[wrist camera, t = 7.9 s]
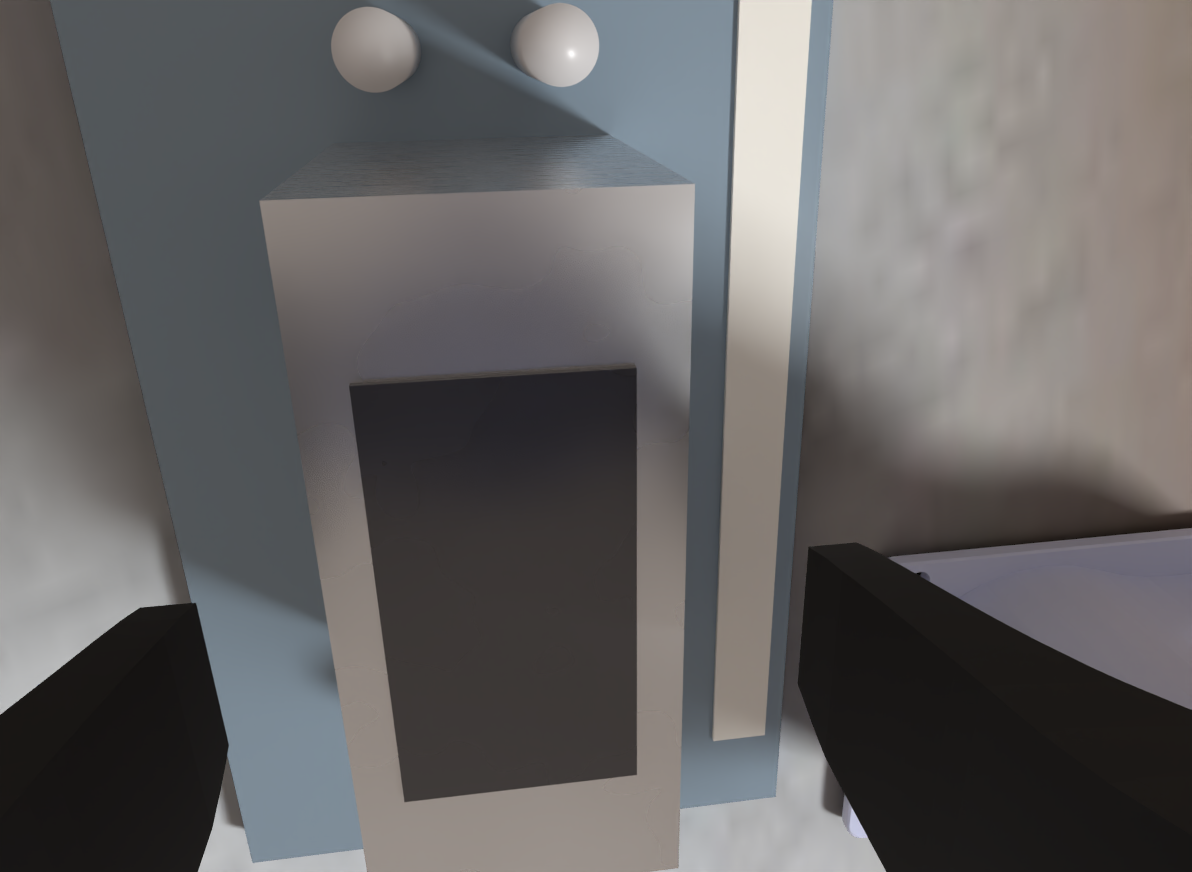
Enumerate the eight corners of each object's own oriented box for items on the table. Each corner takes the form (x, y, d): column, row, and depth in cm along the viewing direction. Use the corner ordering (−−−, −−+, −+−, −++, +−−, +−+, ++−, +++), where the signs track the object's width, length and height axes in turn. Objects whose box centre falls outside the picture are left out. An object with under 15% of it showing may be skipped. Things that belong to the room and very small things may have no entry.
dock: (829, -202, 14) (945, -281, 11) (765, 772, 22) (821, 905, 19) (23, -208, 13) (-136, -300, 10) (259, 834, 21) (220, 990, 17)
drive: (609, 134, 15) (697, 184, 10) (615, 633, 19) (679, 873, 14) (333, 142, 15) (257, 201, 9) (398, 654, 19) (372, 913, 13)
